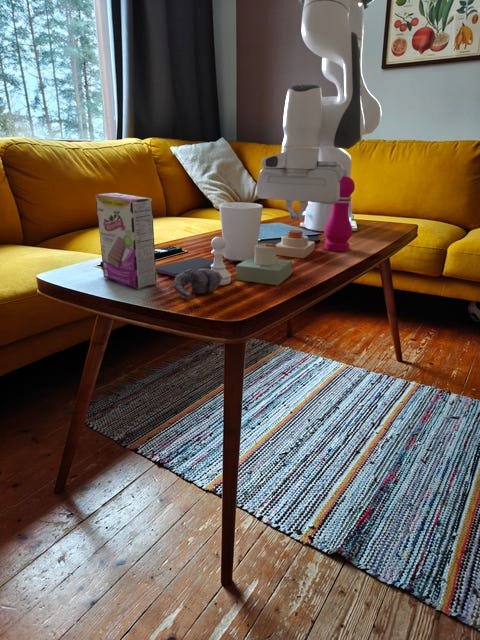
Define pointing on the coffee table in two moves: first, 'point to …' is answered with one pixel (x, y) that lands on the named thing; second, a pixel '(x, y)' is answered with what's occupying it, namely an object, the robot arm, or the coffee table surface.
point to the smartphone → (184, 266)
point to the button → (295, 234)
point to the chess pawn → (220, 259)
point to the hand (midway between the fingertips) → (295, 219)
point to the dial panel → (264, 271)
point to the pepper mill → (340, 218)
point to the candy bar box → (127, 239)
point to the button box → (295, 247)
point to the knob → (265, 254)
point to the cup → (240, 229)
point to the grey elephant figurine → (197, 281)
